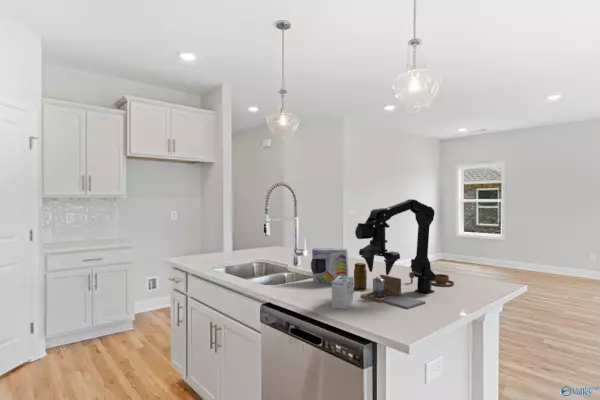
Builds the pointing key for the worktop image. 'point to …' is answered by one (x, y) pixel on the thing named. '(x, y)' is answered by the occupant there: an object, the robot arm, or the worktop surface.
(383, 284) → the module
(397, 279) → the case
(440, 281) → the place setting
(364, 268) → the condiment
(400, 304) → the mat
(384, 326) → the worktop surface
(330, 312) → the worktop surface
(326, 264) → the cake pan box
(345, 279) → the light bulb box
